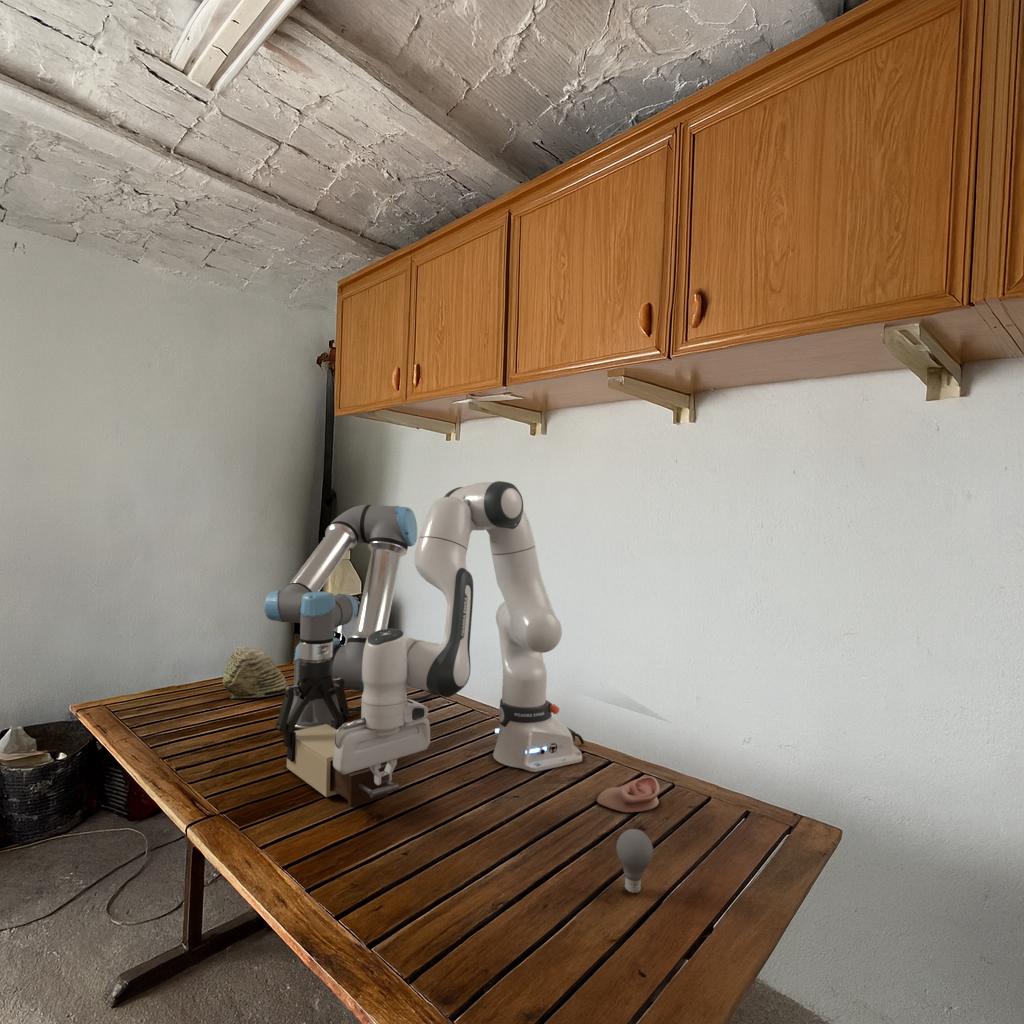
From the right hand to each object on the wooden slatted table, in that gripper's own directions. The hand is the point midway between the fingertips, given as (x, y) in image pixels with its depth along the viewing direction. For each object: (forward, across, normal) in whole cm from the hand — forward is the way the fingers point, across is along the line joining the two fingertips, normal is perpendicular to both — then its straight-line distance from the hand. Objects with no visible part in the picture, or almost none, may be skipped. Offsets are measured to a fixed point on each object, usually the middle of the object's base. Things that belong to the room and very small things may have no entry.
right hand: (382, 782), depth 125 cm
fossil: (+7, +8, +91) cm, 91 cm away
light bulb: (+8, +20, -46) cm, 51 cm away
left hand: (+4, 0, +31) cm, 31 cm away
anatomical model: (+9, +46, -25) cm, 53 cm away
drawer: (+5, -1, +10) cm, 12 cm away
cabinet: (+7, 0, +24) cm, 25 cm away
